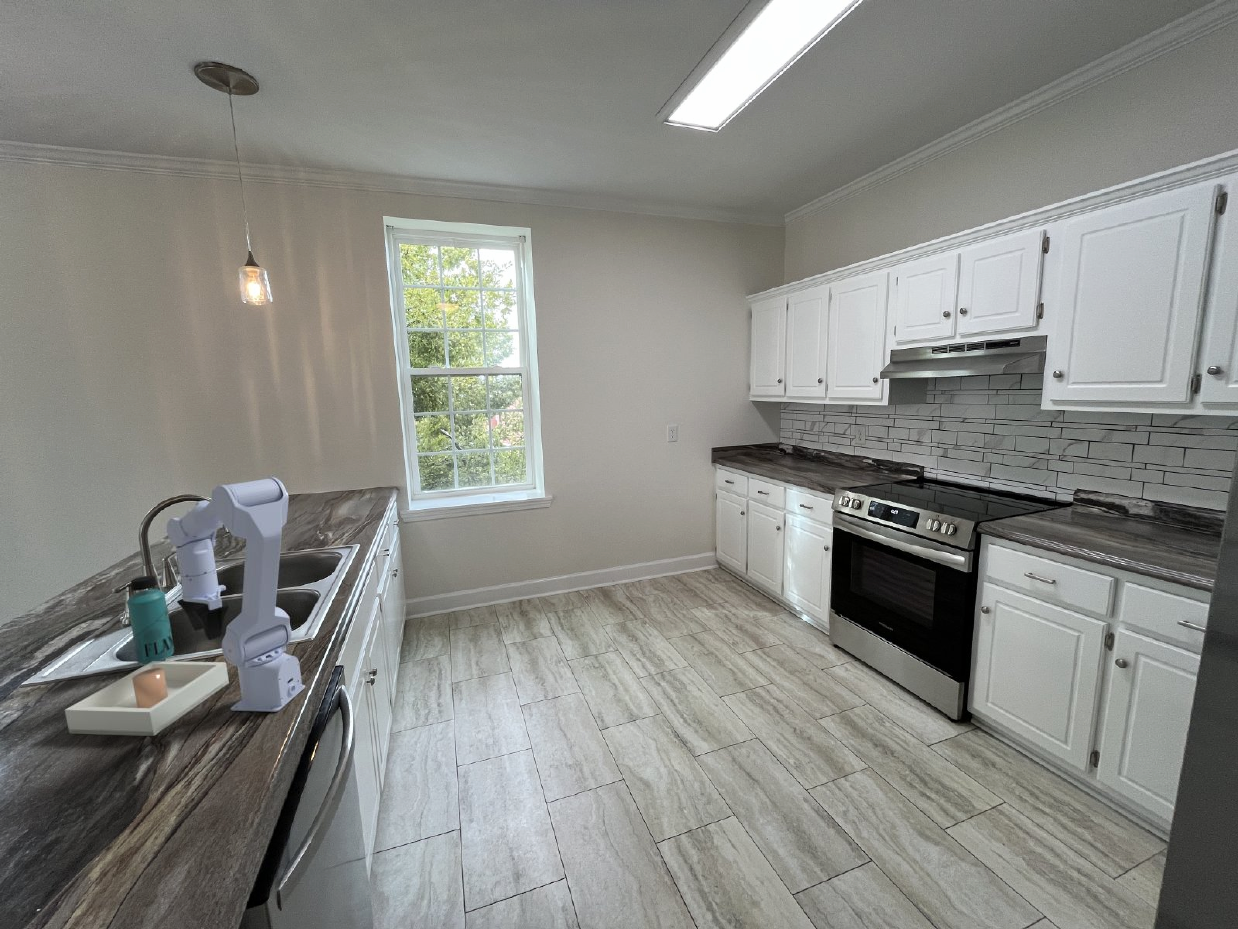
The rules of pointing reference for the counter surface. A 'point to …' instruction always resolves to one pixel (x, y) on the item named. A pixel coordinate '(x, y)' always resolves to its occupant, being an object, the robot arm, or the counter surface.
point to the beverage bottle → (149, 621)
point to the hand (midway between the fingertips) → (207, 633)
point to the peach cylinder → (150, 687)
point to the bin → (121, 716)
